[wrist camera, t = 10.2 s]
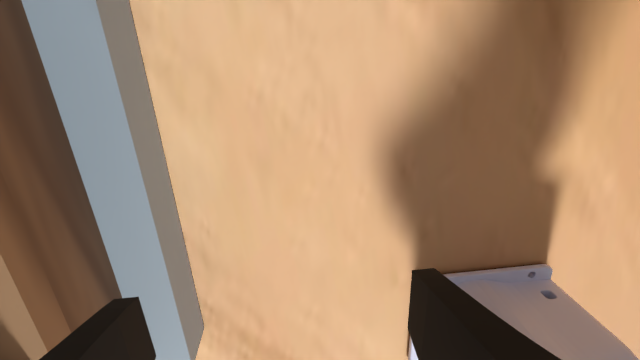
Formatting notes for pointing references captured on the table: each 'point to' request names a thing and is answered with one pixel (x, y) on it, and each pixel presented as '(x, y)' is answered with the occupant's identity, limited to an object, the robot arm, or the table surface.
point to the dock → (121, 159)
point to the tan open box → (41, 209)
